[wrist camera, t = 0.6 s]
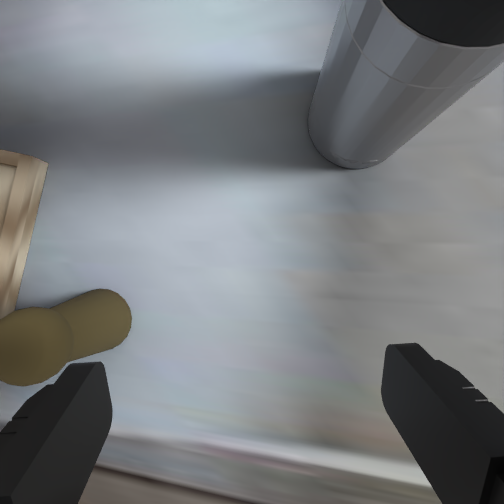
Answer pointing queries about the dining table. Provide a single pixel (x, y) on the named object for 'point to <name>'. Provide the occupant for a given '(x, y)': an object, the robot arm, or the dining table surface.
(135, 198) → the dining table surface
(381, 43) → the robot arm
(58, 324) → the olive brown pepper mill
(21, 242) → the wooden tray
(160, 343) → the dining table surface
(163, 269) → the dining table surface
